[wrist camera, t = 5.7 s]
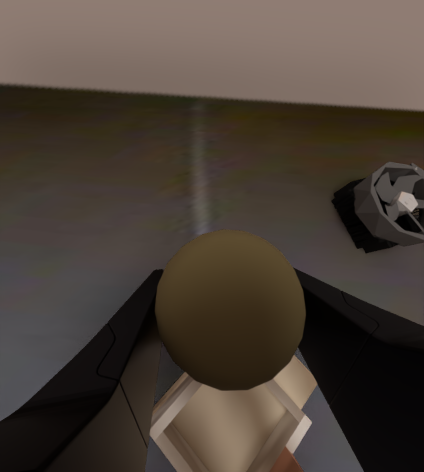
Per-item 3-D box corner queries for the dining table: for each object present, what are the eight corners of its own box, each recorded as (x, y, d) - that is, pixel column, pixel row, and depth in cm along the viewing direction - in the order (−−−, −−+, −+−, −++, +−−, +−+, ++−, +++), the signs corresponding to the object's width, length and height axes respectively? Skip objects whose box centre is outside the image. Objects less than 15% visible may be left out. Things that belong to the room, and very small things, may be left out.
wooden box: (226, 508, 16) (246, 613, 11) (151, 409, 17) (135, 459, 12) (312, 377, 20) (357, 407, 14) (245, 304, 21) (264, 308, 16)
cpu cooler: (405, 250, 19) (355, 169, 22) (357, 260, 25) (322, 194, 27) (470, 224, 21) (418, 153, 24) (413, 238, 27) (375, 179, 29)
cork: (203, 358, 14) (246, 519, 4) (153, 297, 15) (78, 295, 5) (255, 300, 16) (379, 304, 6) (207, 249, 17) (238, 172, 7)
